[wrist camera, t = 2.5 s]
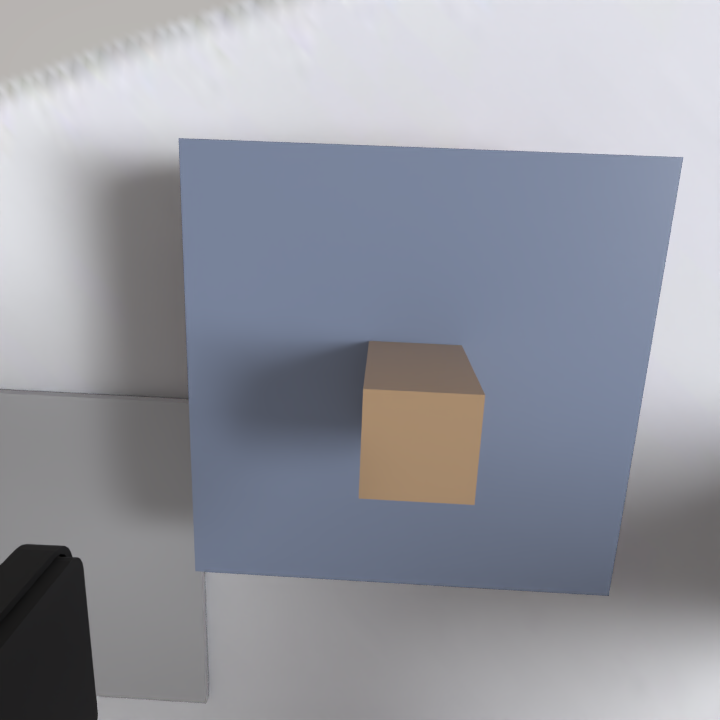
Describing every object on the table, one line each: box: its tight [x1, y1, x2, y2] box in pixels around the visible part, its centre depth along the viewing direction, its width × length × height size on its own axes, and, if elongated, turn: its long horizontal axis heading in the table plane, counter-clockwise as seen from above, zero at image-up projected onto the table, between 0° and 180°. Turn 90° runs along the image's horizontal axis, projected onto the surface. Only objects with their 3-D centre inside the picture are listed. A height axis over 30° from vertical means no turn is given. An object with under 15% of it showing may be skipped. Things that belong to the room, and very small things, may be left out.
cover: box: [179, 138, 683, 596], centre depth 19 cm, size 15×15×8 cm
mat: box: [0, 389, 209, 703], centre depth 29 cm, size 16×16×1 cm
